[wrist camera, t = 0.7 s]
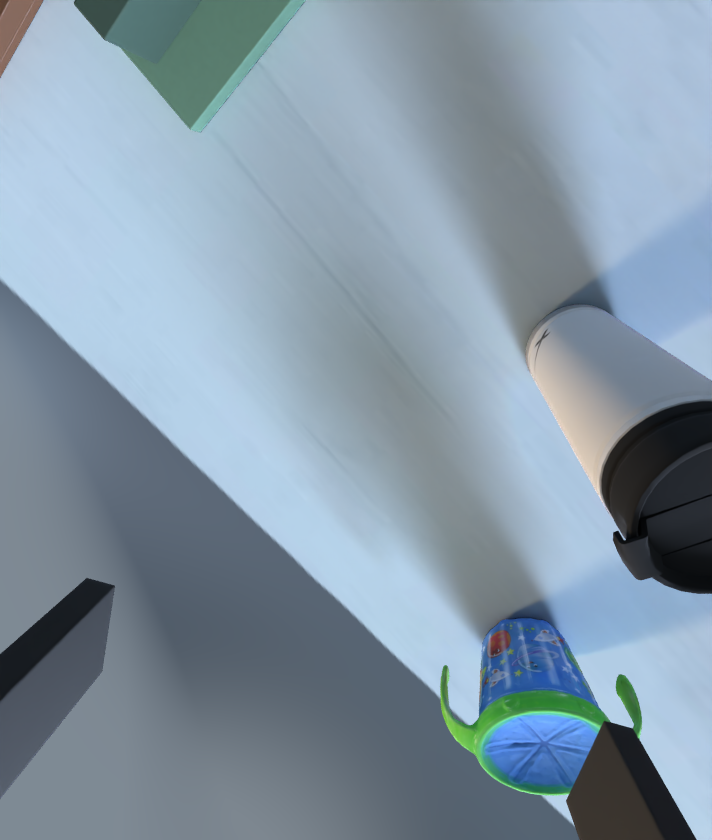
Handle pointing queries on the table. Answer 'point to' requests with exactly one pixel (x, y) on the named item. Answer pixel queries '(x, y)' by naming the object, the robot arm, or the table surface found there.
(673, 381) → the travel mug
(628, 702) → the snack cup
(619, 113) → the table surface
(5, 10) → the back frame
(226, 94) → the back pad
